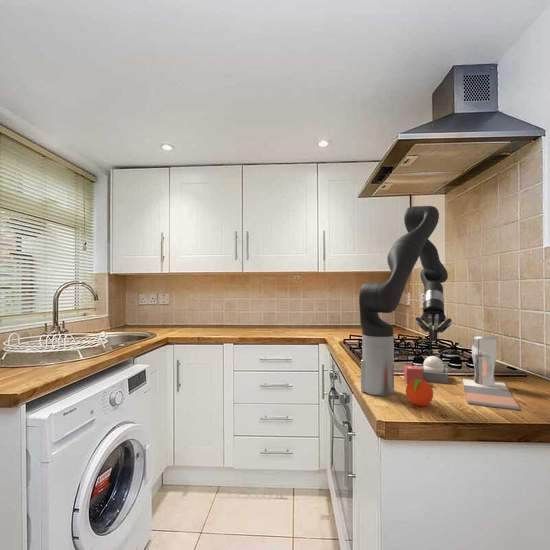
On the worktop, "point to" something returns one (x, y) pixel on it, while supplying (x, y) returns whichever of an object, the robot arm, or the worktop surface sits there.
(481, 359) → the beer glass
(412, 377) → the die
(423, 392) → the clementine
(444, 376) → the dome base
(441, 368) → the dome cap
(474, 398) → the game board
